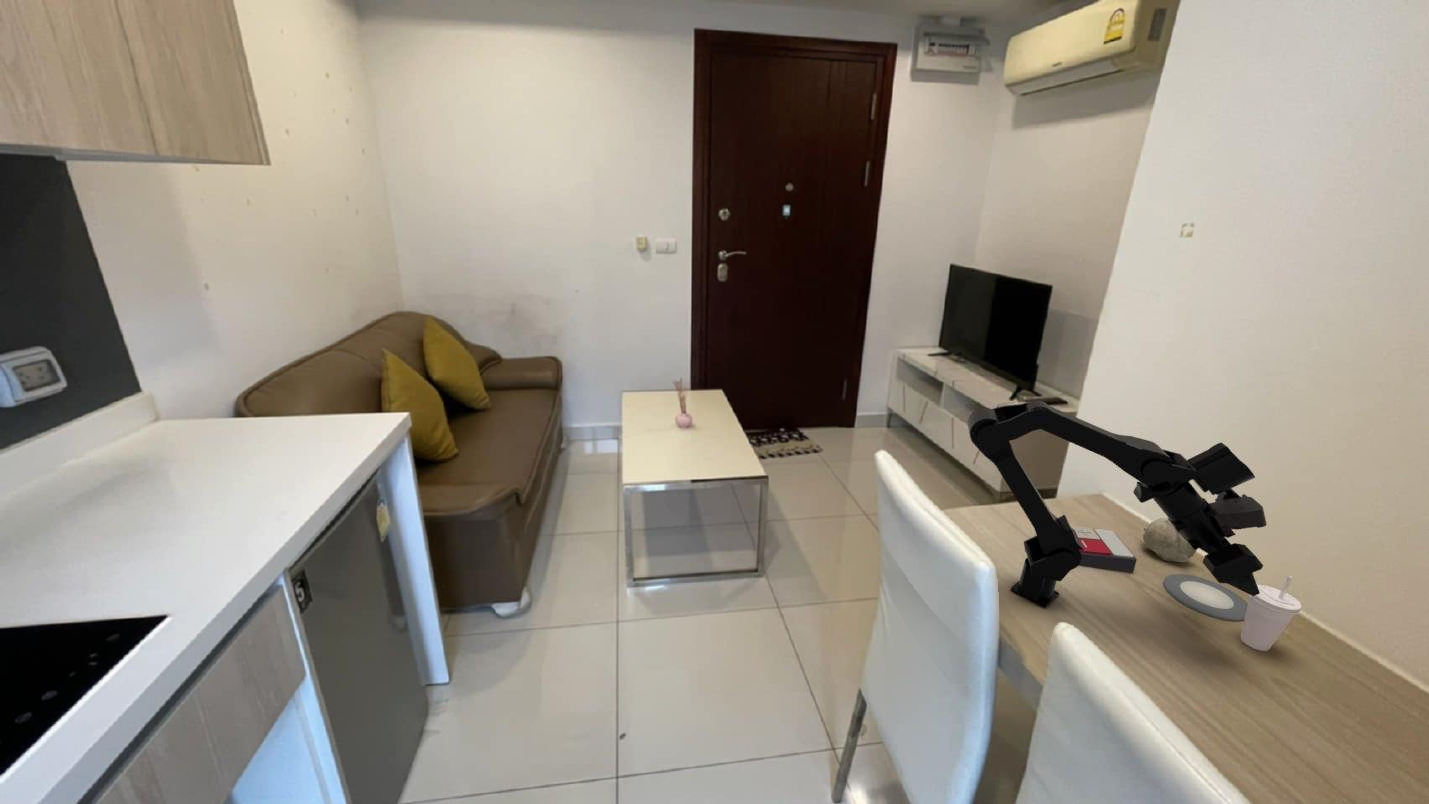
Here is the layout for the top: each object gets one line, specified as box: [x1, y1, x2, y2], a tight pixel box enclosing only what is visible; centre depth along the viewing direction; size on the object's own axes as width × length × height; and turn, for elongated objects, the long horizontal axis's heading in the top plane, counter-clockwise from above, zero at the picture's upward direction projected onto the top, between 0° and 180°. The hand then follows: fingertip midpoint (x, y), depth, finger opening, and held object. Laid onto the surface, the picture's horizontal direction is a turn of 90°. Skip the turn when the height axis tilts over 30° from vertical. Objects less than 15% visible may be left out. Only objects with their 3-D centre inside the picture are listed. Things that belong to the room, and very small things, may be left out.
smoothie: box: [1240, 575, 1302, 652], centre depth 95 cm, size 6×6×14 cm
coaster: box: [1162, 573, 1248, 622], centre depth 109 cm, size 13×13×1 cm
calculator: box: [1070, 525, 1138, 574], centre depth 121 cm, size 11×4×15 cm
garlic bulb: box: [1142, 517, 1198, 563], centre depth 120 cm, size 9×8×10 cm
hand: (1241, 577), depth 95 cm, fingers open, 9 cm apart
